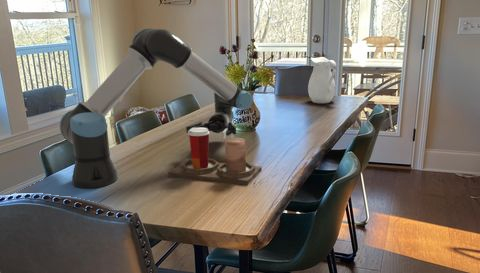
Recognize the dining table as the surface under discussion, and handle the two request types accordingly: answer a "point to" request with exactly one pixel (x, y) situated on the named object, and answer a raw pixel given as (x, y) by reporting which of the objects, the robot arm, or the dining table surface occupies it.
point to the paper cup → (199, 147)
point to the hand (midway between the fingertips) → (205, 135)
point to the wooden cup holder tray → (222, 166)
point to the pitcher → (322, 80)
